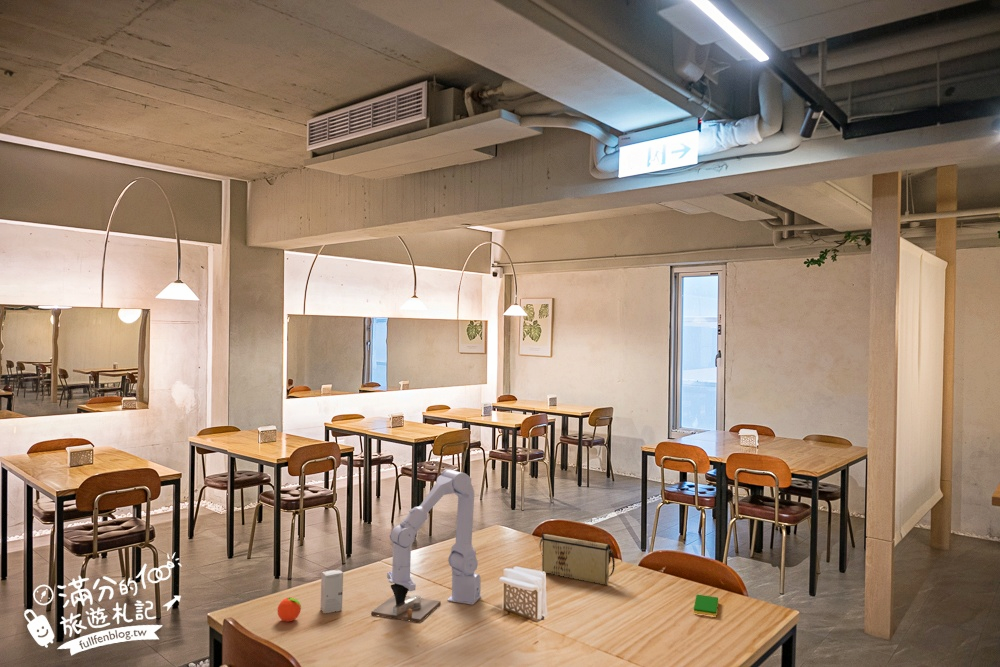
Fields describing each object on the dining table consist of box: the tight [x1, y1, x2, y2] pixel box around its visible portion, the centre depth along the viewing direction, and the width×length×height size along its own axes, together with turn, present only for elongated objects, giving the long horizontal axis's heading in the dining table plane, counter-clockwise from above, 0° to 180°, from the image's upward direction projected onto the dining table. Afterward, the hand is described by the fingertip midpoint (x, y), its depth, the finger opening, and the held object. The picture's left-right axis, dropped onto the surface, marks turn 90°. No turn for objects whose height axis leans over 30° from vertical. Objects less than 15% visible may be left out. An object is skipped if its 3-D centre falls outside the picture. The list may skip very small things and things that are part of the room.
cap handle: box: [393, 595, 422, 616], centre depth 213 cm, size 12×4×2 cm, turn 148°
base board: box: [370, 594, 441, 623], centre depth 217 cm, size 17×16×3 cm
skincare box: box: [319, 569, 344, 614], centre depth 215 cm, size 6×4×12 cm
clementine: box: [277, 596, 302, 622], centre depth 206 cm, size 8×7×7 cm
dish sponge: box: [693, 594, 719, 616], centre depth 222 cm, size 7×14×2 cm, turn 160°
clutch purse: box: [539, 533, 616, 586], centre depth 250 cm, size 30×7×15 cm, turn 61°
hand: (400, 607), depth 213 cm, fingers closed, pressing on cap handle
